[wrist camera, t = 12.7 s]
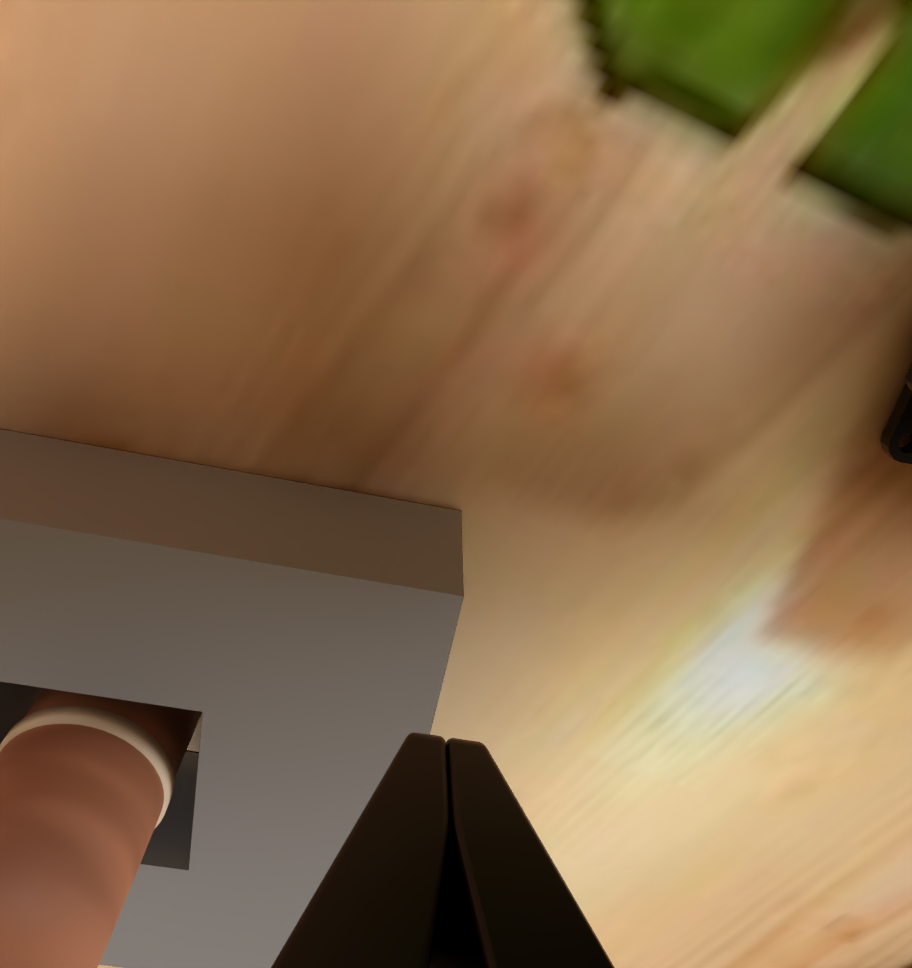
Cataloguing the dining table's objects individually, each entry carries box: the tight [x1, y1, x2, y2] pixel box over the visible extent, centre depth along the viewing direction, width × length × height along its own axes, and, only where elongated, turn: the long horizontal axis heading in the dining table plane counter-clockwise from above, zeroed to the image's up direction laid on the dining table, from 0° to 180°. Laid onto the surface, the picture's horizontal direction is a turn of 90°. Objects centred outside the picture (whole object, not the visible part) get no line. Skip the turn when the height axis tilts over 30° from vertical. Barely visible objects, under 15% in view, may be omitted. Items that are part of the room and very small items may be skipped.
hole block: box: [0, 429, 464, 968], centre depth 21 cm, size 16×14×4 cm
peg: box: [0, 688, 202, 968], centre depth 20 cm, size 4×4×8 cm
